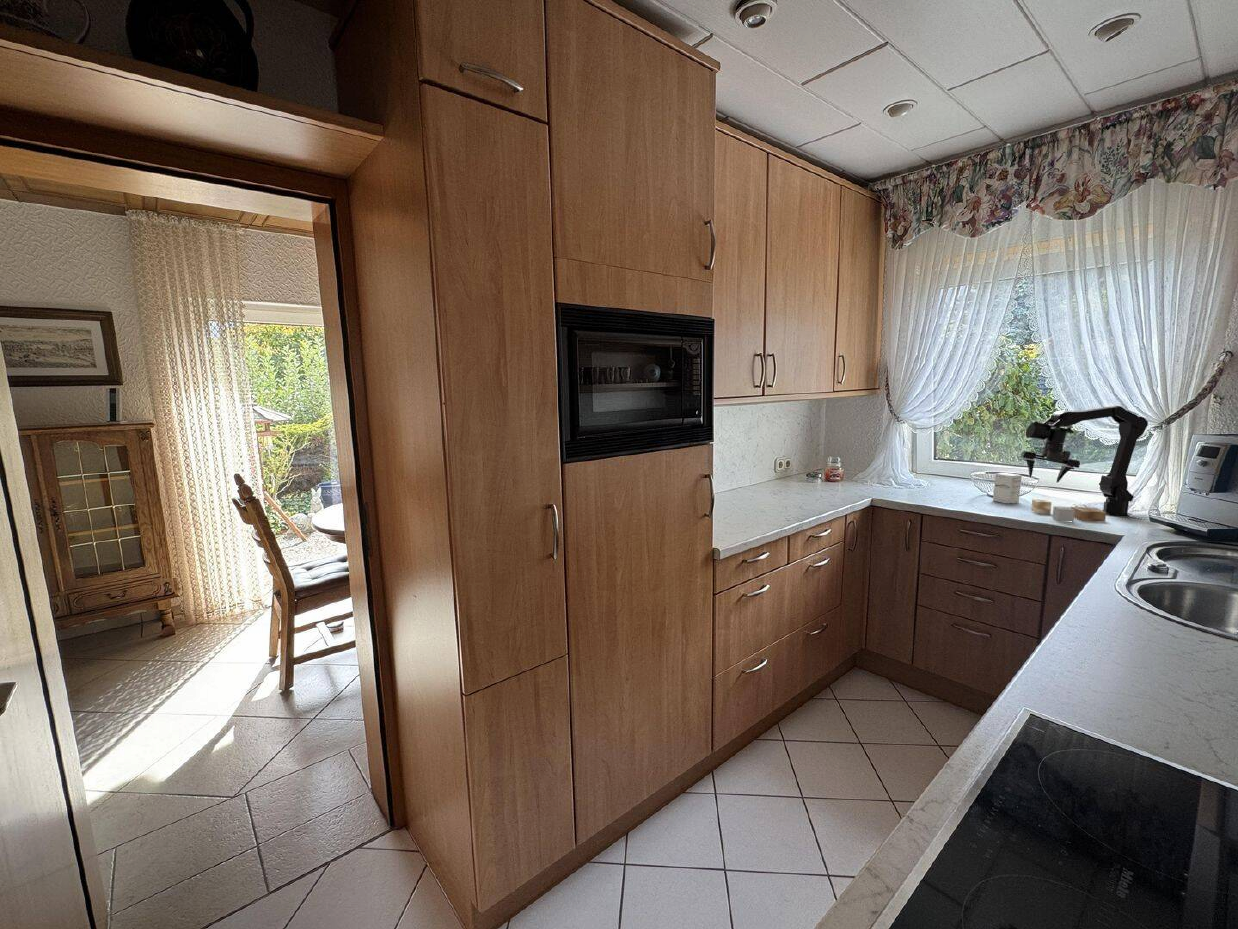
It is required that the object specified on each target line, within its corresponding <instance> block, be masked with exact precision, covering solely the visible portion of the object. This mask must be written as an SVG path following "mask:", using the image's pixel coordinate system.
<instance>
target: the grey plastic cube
mask: <svg viewBox="0 0 1238 929" xmlns="http://www.w3.org/2000/svg"><path fill="white" fill-rule="evenodd" d="M1074 512H1075V510H1074V509H1072V508H1071V506H1059V505H1057V506H1056V505H1054V506H1053V510H1052V517H1051V518H1053V519H1052V520H1054V521H1055V522H1058V521H1072V522H1071V523H1074V521H1075V520H1074V519H1075V518H1074Z"/></svg>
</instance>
